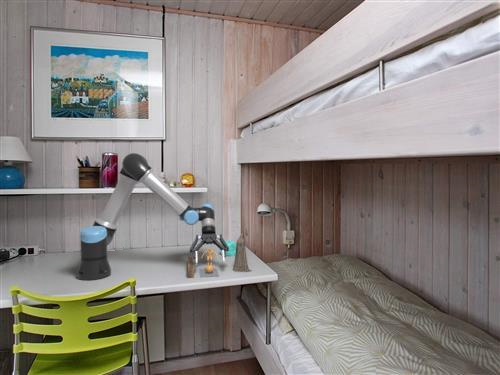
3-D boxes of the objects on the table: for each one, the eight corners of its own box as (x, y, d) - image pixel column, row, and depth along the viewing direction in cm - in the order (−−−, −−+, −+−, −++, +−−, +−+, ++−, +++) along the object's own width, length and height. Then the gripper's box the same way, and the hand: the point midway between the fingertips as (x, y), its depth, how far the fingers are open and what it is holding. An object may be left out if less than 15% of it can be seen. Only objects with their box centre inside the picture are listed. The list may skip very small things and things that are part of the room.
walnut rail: (187, 278, 158) (187, 270, 158) (187, 262, 185) (187, 256, 185) (194, 277, 158) (194, 270, 158) (193, 262, 186) (193, 256, 186)
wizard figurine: (251, 267, 176) (251, 221, 175) (252, 272, 168) (252, 223, 167) (232, 267, 176) (232, 221, 175) (232, 272, 168) (232, 223, 166)
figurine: (201, 274, 162) (200, 250, 162) (201, 270, 168) (201, 247, 168) (217, 274, 163) (217, 250, 163) (218, 270, 169) (218, 247, 169)
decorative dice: (237, 254, 204) (237, 241, 204) (228, 257, 198) (228, 243, 198) (228, 252, 209) (228, 240, 209) (219, 254, 203) (219, 242, 203)
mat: (200, 277, 159) (200, 276, 159) (199, 270, 171) (199, 269, 171) (219, 276, 161) (219, 275, 161) (216, 269, 172) (216, 268, 172)
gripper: (230, 231, 185) (234, 265, 170) (185, 233, 180) (185, 267, 166) (231, 223, 179) (235, 258, 165) (185, 225, 175) (184, 260, 160)
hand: (210, 263), depth 165 cm, fingers open, 13 cm apart
